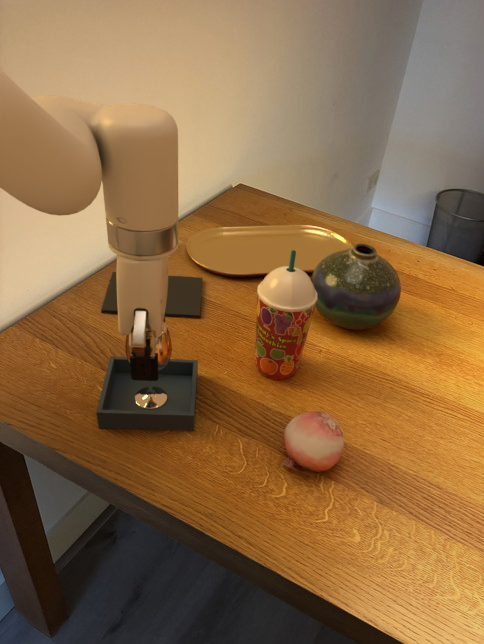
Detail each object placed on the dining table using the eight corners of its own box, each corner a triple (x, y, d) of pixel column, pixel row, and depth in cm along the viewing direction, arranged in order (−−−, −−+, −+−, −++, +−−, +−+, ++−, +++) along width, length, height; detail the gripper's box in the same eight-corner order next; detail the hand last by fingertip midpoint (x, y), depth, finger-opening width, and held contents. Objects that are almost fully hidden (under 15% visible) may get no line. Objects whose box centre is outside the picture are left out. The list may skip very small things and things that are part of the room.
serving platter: (178, 235, 112) (178, 228, 111) (334, 229, 123) (335, 223, 122) (196, 284, 99) (196, 276, 98) (368, 273, 110) (370, 266, 109)
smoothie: (240, 375, 81) (251, 256, 68) (260, 345, 88) (275, 230, 75) (292, 393, 80) (314, 274, 67) (309, 360, 86) (332, 246, 73)
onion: (347, 478, 69) (359, 440, 64) (289, 488, 67) (297, 449, 62) (325, 432, 75) (335, 394, 70) (271, 440, 72) (278, 401, 68)
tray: (98, 428, 70) (96, 412, 68) (112, 371, 79) (110, 356, 77) (194, 431, 72) (194, 415, 70) (197, 375, 80) (197, 359, 78)
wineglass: (122, 407, 73) (116, 336, 65) (138, 380, 77) (133, 310, 70) (164, 416, 73) (162, 346, 65) (177, 388, 77) (177, 319, 69)
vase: (293, 295, 100) (304, 228, 91) (368, 290, 105) (385, 225, 96) (324, 347, 89) (339, 276, 80) (406, 338, 94) (429, 271, 85)
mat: (101, 312, 89) (101, 309, 89) (112, 274, 98) (112, 271, 98) (200, 318, 91) (200, 315, 91) (202, 280, 100) (202, 277, 100)
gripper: (119, 195, 65) (128, 314, 76) (92, 270, 52) (108, 400, 63) (183, 200, 66) (182, 317, 77) (172, 275, 53) (174, 402, 64)
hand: (149, 354), depth 70 cm, fingers open, 9 cm apart
